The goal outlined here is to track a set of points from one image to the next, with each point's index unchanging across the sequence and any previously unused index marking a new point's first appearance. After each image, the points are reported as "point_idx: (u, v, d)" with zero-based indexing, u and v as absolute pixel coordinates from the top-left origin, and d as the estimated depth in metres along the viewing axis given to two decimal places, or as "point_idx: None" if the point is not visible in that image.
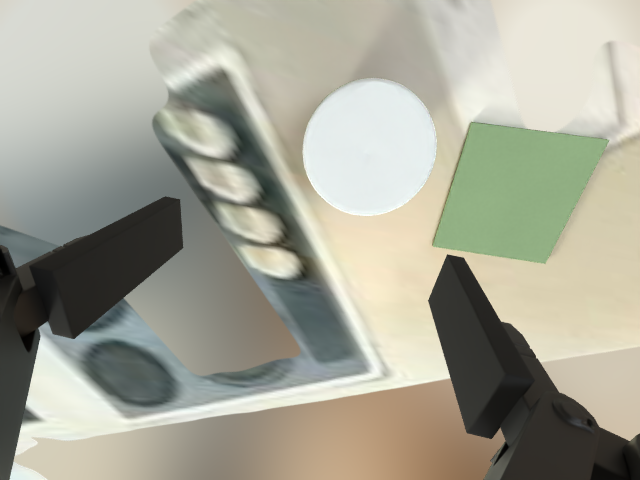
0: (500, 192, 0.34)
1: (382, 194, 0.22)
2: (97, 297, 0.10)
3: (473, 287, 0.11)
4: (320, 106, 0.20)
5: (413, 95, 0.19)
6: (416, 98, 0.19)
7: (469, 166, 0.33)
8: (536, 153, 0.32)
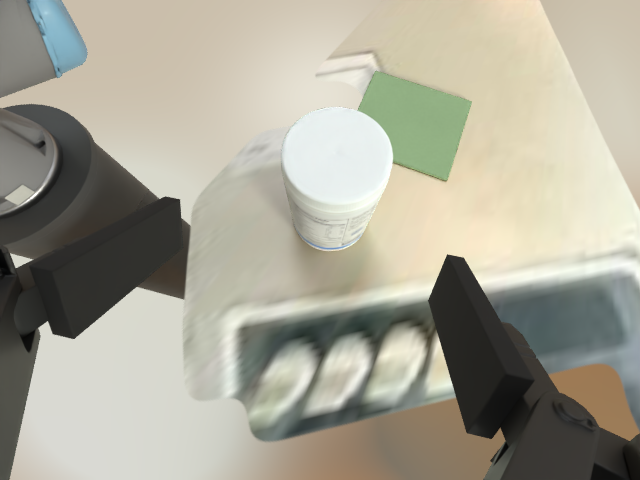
0: (402, 128, 0.42)
1: (374, 147, 0.24)
2: (97, 297, 0.10)
3: (473, 287, 0.11)
4: (289, 178, 0.23)
5: (303, 116, 0.25)
6: (306, 114, 0.25)
7: None
8: (375, 106, 0.43)
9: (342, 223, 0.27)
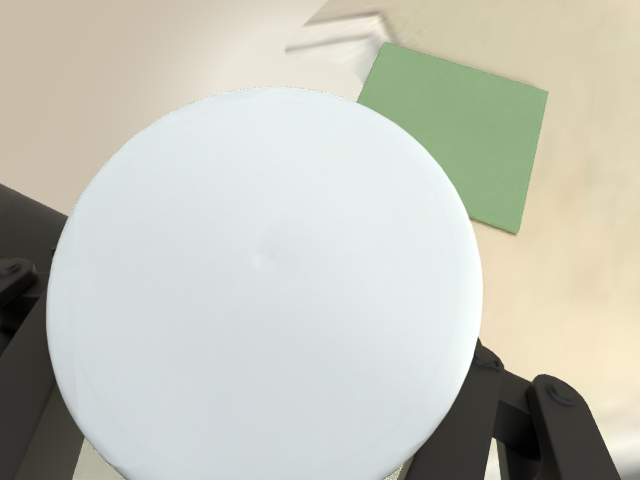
0: (432, 138, 0.24)
1: (408, 234, 0.06)
2: None
3: None
4: (59, 379, 0.06)
5: (160, 118, 0.07)
6: (170, 113, 0.07)
7: None
8: (385, 101, 0.25)
9: None
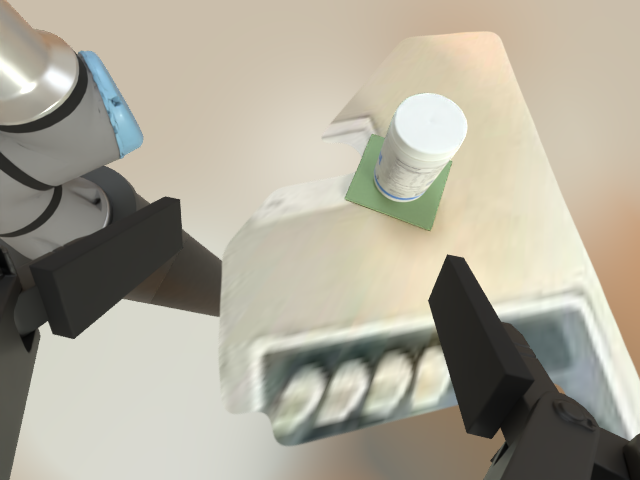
0: None
1: (454, 118, 0.37)
2: (97, 297, 0.10)
3: (473, 287, 0.11)
4: (402, 137, 0.36)
5: (406, 99, 0.38)
6: (407, 98, 0.38)
7: (372, 201, 0.50)
8: (372, 166, 0.52)
9: (428, 172, 0.40)
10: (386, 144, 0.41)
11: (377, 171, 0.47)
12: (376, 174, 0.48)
